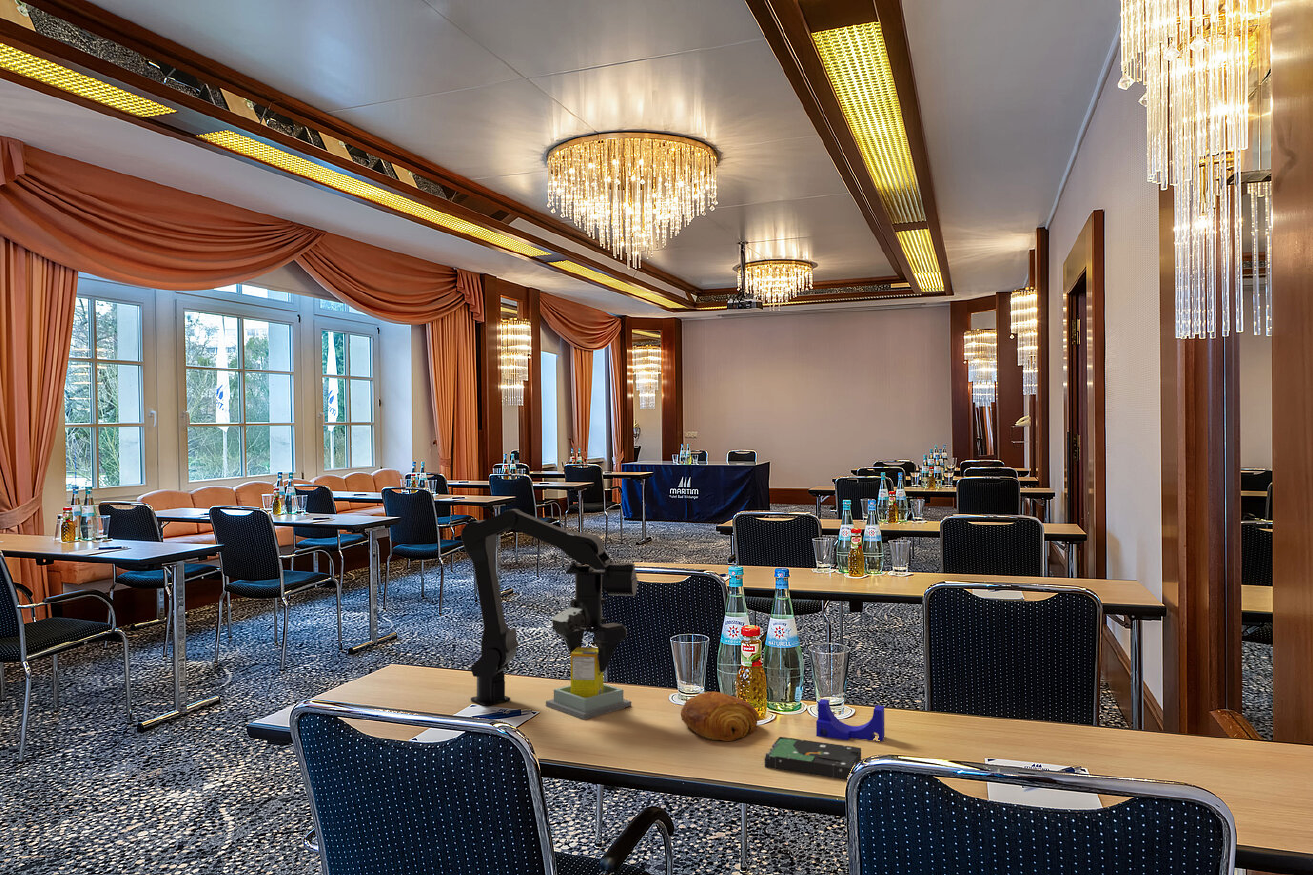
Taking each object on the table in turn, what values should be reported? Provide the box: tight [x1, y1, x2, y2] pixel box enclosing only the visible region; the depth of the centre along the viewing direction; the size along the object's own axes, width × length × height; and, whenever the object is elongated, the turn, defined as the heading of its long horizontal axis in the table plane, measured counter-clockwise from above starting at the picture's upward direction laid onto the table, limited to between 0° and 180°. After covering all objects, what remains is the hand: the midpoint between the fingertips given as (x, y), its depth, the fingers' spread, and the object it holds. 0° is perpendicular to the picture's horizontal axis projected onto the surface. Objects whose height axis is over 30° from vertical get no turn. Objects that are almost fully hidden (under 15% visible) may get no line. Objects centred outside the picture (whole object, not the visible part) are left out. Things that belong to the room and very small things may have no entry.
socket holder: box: [545, 683, 632, 720], centre depth 174 cm, size 13×13×4 cm
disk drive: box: [763, 736, 862, 781], centre depth 141 cm, size 10×3×15 cm
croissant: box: [680, 690, 760, 742], centre depth 159 cm, size 14×16×8 cm
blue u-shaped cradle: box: [815, 698, 885, 741], centre depth 155 cm, size 12×4×6 cm, turn 66°
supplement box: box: [570, 646, 604, 698], centre depth 174 cm, size 6×6×11 cm
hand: (588, 667), depth 174 cm, fingers open, 9 cm apart
